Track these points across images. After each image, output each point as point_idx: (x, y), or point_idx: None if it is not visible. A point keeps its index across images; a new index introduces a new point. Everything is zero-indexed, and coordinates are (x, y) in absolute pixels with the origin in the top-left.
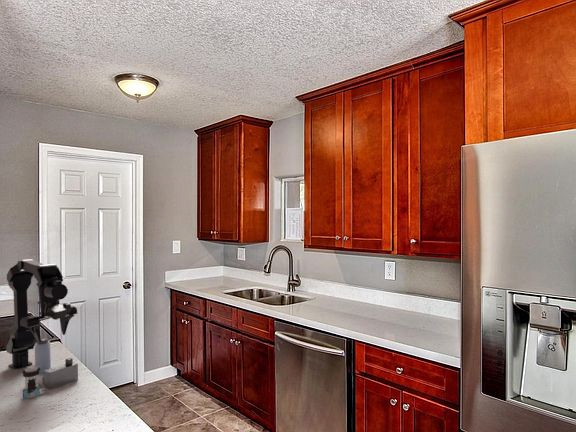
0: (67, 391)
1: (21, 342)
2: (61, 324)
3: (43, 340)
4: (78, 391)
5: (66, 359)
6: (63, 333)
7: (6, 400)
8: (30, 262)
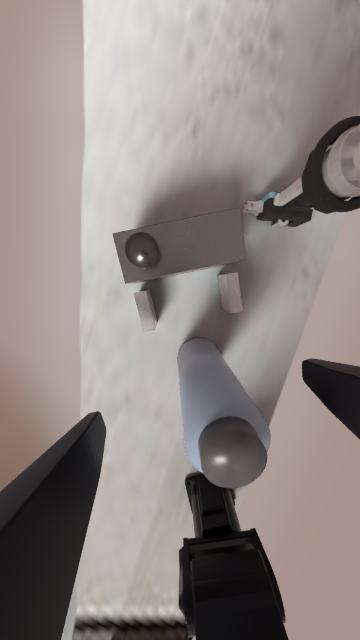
0: (188, 161)
1: (244, 572)
2: (61, 584)
3: (236, 441)
4: (163, 127)
5: (152, 255)
6: (98, 426)
7: (330, 241)
8: None
